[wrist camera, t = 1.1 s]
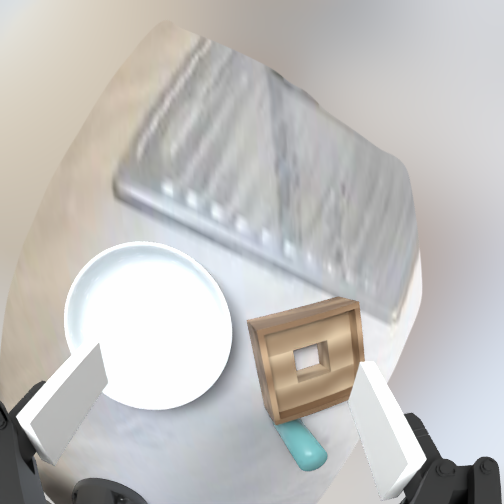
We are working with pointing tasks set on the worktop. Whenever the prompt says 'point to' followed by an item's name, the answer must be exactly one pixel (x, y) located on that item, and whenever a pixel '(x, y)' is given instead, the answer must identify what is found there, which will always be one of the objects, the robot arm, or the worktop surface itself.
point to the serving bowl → (151, 324)
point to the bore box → (315, 377)
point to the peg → (302, 445)
